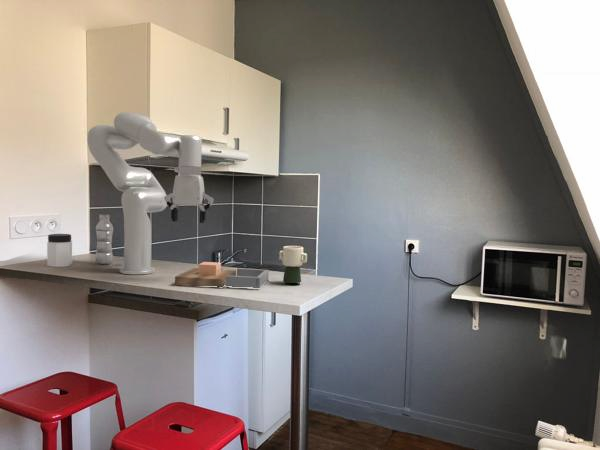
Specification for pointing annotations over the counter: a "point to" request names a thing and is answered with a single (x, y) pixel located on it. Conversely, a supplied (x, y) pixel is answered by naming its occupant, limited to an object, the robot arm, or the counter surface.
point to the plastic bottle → (104, 240)
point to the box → (248, 278)
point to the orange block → (209, 268)
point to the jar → (59, 250)
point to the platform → (203, 278)
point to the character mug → (292, 263)
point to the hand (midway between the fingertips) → (188, 221)
